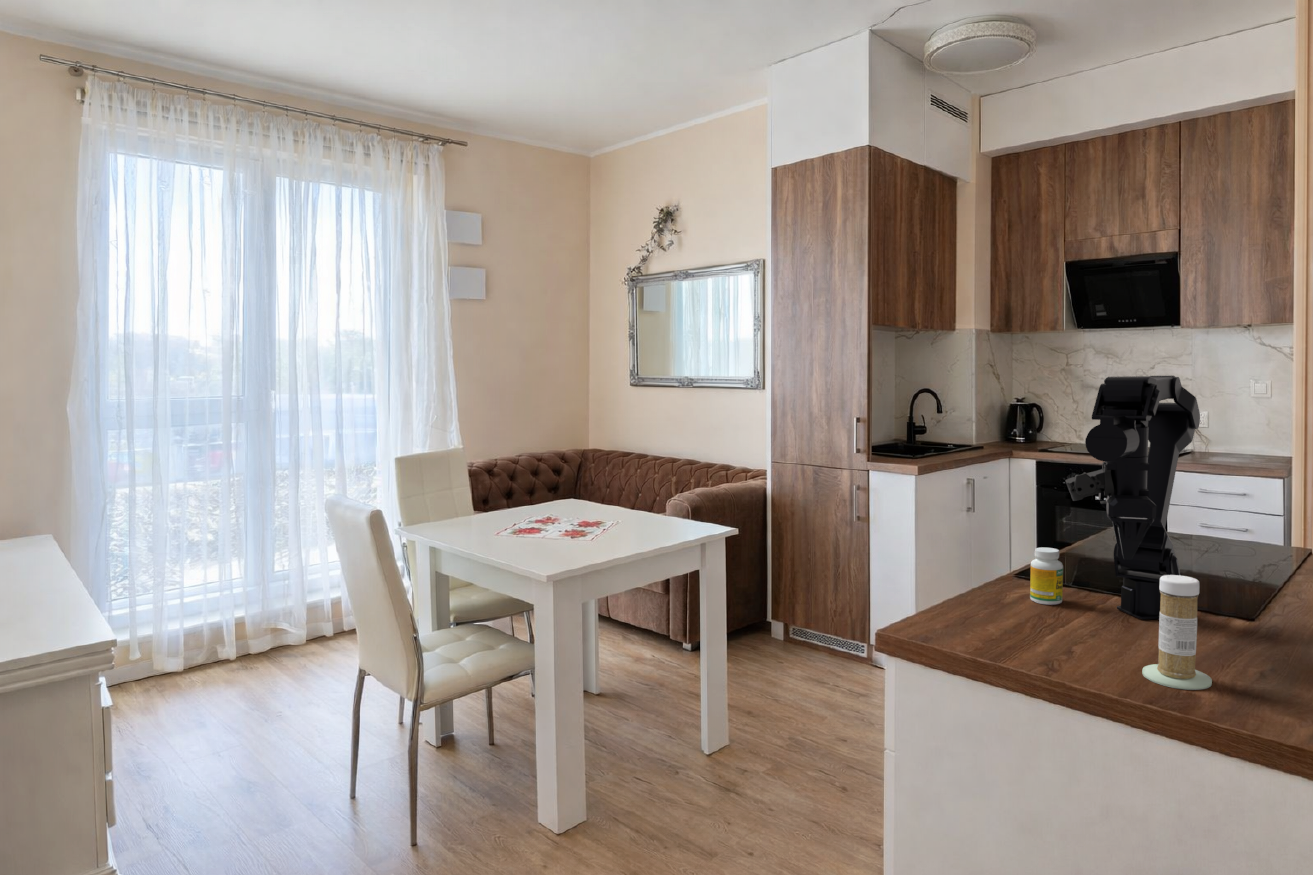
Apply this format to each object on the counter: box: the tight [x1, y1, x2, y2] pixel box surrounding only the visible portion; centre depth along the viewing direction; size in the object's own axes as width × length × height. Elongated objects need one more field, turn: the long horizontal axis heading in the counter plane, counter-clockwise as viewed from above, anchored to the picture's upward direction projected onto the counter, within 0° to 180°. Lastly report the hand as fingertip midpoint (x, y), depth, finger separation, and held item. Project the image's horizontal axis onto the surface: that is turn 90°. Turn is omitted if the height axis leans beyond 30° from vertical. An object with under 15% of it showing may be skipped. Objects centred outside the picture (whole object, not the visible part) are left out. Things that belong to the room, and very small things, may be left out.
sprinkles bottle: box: [1157, 574, 1200, 679], centre depth 110 cm, size 5×5×14 cm
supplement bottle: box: [1029, 546, 1064, 606], centre depth 147 cm, size 5×5×10 cm
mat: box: [1141, 663, 1213, 691], centre depth 110 cm, size 8×8×1 cm
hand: (1124, 552), depth 129 cm, fingers open, 9 cm apart
